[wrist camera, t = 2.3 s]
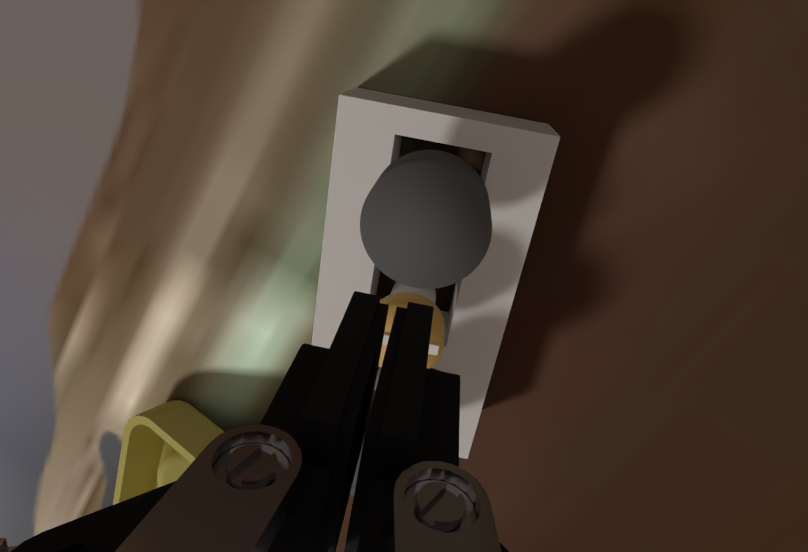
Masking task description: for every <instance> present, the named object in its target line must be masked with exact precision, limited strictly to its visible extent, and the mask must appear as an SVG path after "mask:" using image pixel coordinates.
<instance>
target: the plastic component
mask: <svg viewBox="0 0 808 552" xmlns="http://www.w3.org/2000/svg"><path fill="white" fill-rule="evenodd" d="M222 433H224V431H223V430H222V429H221V428H219V427H218V426H217V425H216V424H214V423H213V422H212V421H211V420H209V419H208V418H207V417H206V416H204V415H203V414H202V413H201V412H199V411H198V410H197V409H196V408H194V407H193V406H192V405H190V404H189V403H187V402H184V401H181V400H172V401H169V402H167V403H164V404H162V405H160V406H157V407H155V408H152V409H150V410H148V411H145V412H143V413H140V414H138V415H136V416H133V417H132V418H131V419H129V420H128V422H127V423H126V426H125V429H124V435H123V442H122V448H121V455H120V461H119V468H118V474H117V481H116V488H115V495H114V501H113V505H115V504H117V503H120V502H122V501H125V500H128V499H130V498H133V497H135V496H138V495H140V494H143V493H146V492H148V491H151V490H153V489H156V488H159V487H161V486H164V485H166V484H169V483H172V482H174V481H177V480H178V478H179V477H180V476H181V475H182V474H183V473H184V472H185V470H186V469H187V468H188V467H189V466H190V465H191V463H192V462H193V461H194V460H195V459H196V458H197V457H198V455H199V454H200V453H201V452H202V451H203V450H204V448H205V447H206V446H207V445H208V444H209V443H210V442H211V441H212V440H214V439H215V438H216V437H217V436H218V435H220V434H222Z"/></svg>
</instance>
